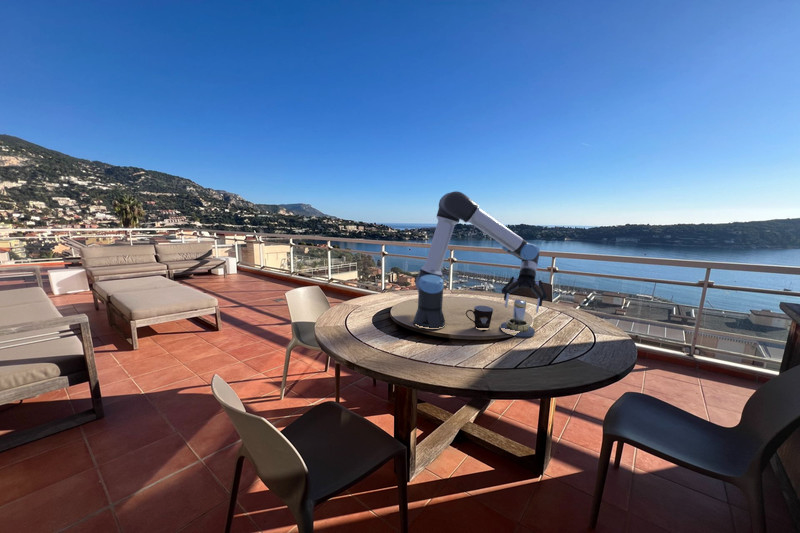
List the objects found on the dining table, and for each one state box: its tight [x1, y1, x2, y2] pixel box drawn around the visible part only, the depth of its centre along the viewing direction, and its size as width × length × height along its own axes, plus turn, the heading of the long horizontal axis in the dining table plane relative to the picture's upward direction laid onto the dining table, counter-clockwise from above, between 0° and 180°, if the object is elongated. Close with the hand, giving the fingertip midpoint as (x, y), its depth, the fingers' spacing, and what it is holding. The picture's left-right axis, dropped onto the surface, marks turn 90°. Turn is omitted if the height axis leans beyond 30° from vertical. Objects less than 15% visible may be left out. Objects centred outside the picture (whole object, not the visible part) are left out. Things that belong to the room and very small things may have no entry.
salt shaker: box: [512, 299, 527, 325], centre depth 135 cm, size 5×5×13 cm
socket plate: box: [499, 317, 536, 339], centre depth 136 cm, size 15×15×4 cm
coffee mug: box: [465, 305, 494, 329], centre depth 138 cm, size 12×9×10 cm
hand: (520, 308), depth 135 cm, fingers open, 13 cm apart
